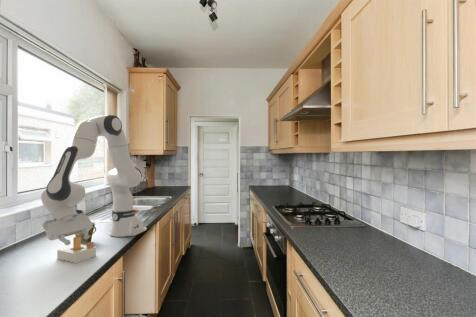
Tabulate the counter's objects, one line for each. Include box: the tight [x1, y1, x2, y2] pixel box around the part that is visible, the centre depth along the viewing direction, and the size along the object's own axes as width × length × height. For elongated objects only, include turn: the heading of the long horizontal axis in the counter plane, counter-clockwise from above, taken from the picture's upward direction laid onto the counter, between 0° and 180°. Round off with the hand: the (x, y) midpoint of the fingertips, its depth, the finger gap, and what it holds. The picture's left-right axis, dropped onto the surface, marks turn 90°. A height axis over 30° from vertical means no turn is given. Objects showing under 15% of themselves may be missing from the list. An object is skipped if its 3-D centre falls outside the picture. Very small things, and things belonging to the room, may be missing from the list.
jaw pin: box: [72, 236, 81, 251], centre depth 126 cm, size 3×3×9 cm
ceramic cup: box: [74, 221, 97, 245], centre depth 146 cm, size 13×10×10 cm
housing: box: [56, 241, 97, 264], centre depth 126 cm, size 10×12×6 cm
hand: (78, 241), depth 126 cm, fingers open, 8 cm apart
